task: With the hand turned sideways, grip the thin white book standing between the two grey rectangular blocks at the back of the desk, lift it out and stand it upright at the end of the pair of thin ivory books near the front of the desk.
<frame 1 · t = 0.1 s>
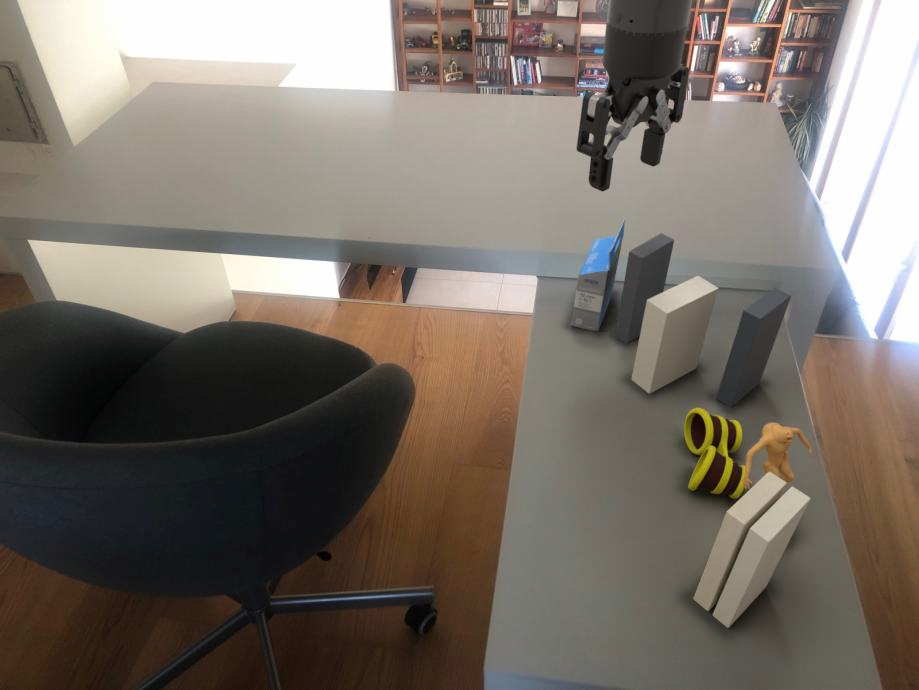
hand: (625, 175, 76), 22 cm above the table, tool pointing down, fingers open, 8 cm apart
label tape box: (592, 311, 93), on the table
grey rectangular blocks: (684, 359, 86), on the table
opera glasses: (710, 467, 73), on the table
figurine: (759, 520, 68), on the table
white books: (729, 593, 62), on the table
thin white book: (664, 373, 84), on the table
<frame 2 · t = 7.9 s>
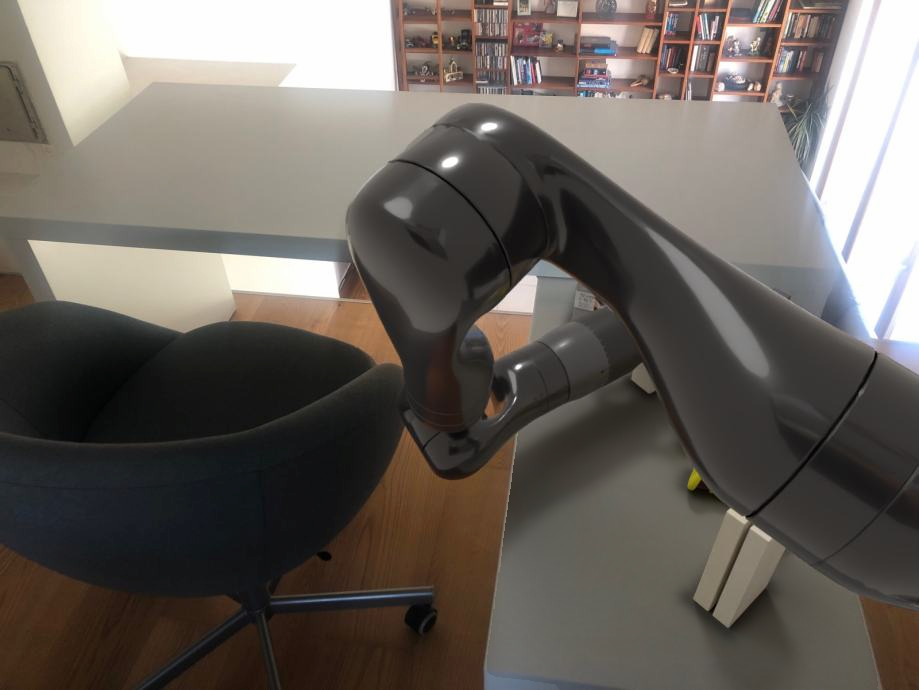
hand: (697, 299, 78), 10 cm above the table, tool horizontal, fingers closed on thin white book, 3 cm apart
thin white book: (664, 373, 84), on the table, touching gripper
everything else where it was.
when the fingers open (10 cm above the table, at t = 19.1 s): thin white book stays where it is, on the table.
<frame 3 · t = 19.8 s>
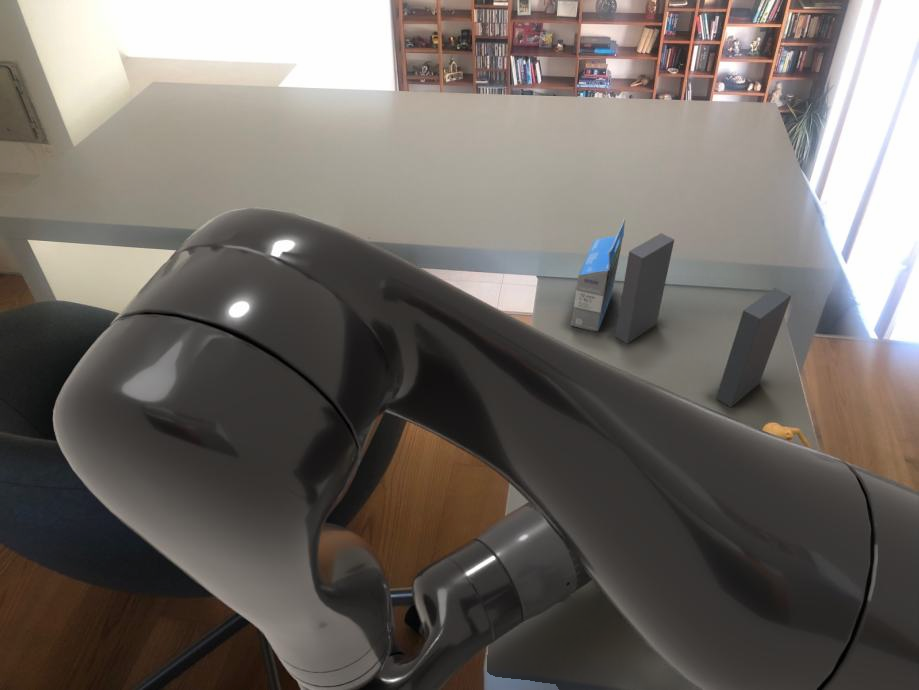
hand: (687, 460, 61), 10 cm above the table, tool horizontal, fingers open, 8 cm apart
thin white book: (652, 538, 66), on the table
everything else where it was.
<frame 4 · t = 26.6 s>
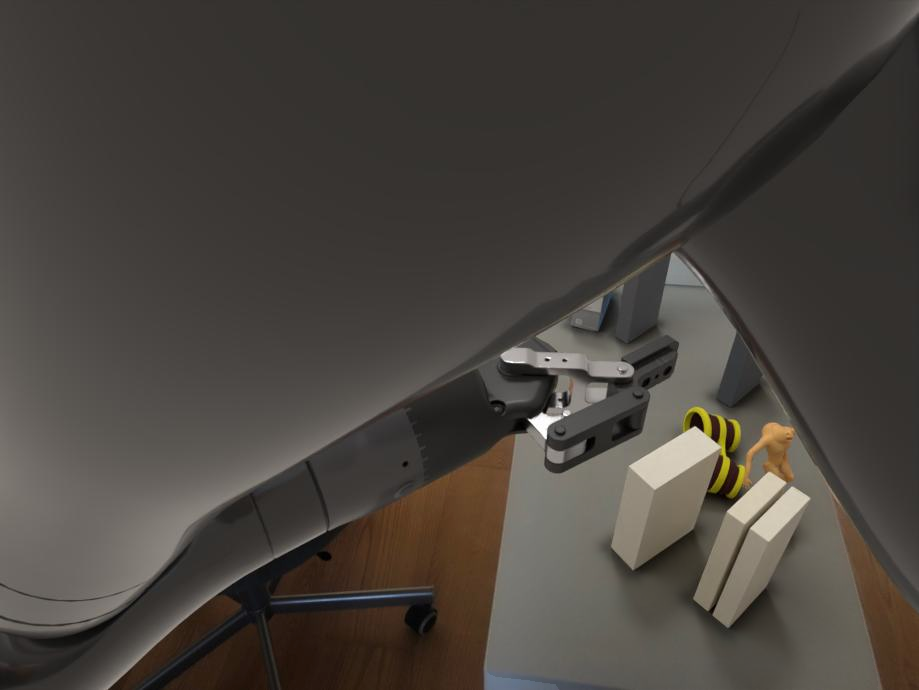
hand: (619, 311, 41), 32 cm above the table, tool horizontal, fingers open, 8 cm apart
nothing on the table moved.
at the end: thin white book 0.4 cm from the target spot on the table beside the white books, on the table; thin white book tilted 0°; the gripper is holding nothing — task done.
